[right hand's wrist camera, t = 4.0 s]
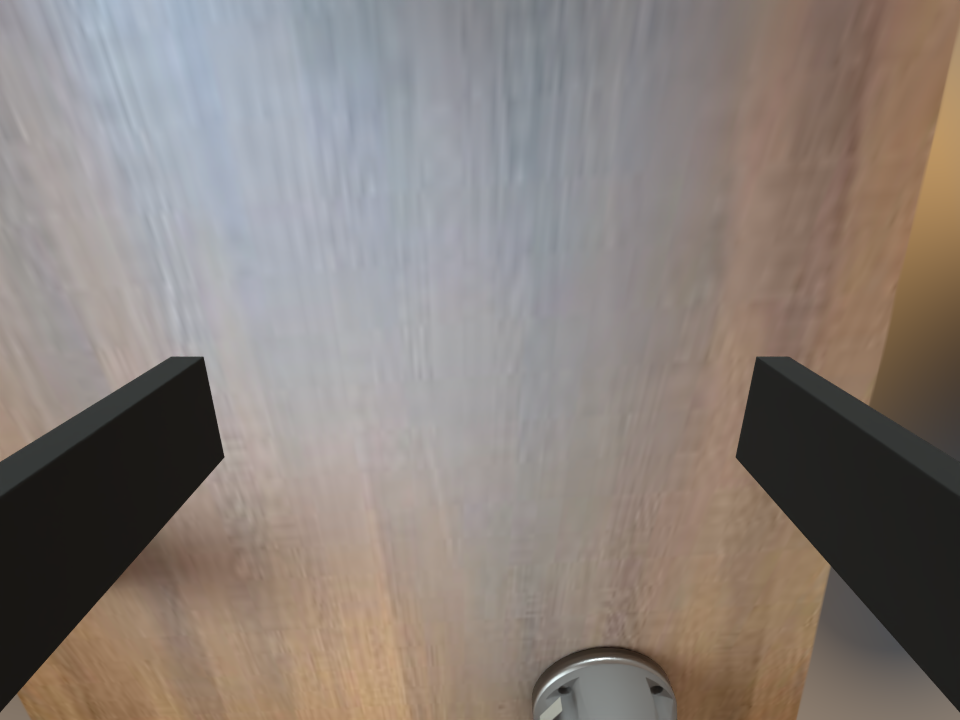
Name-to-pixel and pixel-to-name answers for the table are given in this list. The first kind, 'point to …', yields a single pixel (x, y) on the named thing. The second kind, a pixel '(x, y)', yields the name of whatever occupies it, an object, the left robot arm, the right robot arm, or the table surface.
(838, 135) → the table surface
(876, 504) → the right robot arm
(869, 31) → the table surface
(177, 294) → the table surface
